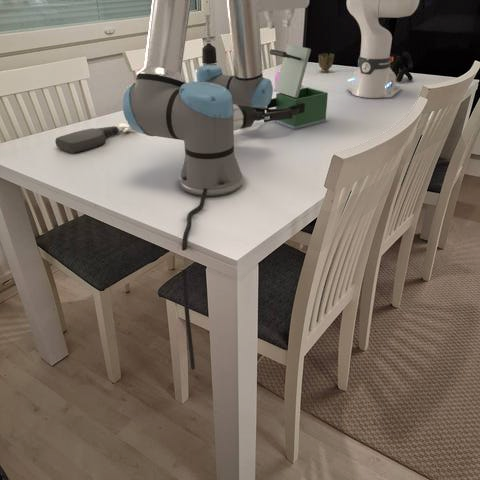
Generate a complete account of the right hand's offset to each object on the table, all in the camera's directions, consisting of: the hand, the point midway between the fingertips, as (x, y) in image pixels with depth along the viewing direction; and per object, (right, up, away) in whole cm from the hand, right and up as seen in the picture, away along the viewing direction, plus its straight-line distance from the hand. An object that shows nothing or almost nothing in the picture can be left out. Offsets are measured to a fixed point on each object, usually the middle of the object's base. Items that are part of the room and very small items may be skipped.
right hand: (279, 27), depth 131 cm
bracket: (+9, +3, +61) cm, 62 cm away
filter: (-23, -6, +48) cm, 54 cm away
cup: (+30, +20, +87) cm, 94 cm away
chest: (+9, -22, +21) cm, 32 cm away
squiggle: (+60, +9, +70) cm, 93 cm away
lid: (+5, -9, +10) cm, 15 cm away
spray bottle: (-56, -31, +8) cm, 64 cm away
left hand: (+6, -18, +16) cm, 24 cm away
